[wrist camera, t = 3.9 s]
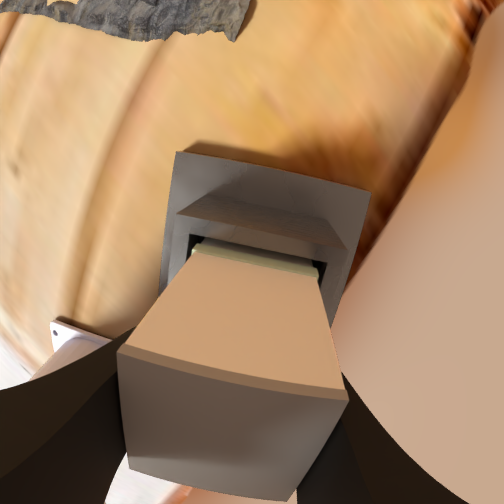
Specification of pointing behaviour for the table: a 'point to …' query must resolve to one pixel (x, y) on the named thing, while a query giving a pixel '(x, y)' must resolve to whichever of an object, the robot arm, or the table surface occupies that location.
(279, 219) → the sleeve stand
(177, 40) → the table surface
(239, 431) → the post
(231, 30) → the driftwood
